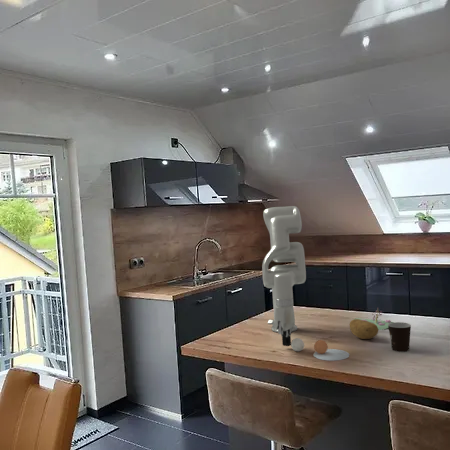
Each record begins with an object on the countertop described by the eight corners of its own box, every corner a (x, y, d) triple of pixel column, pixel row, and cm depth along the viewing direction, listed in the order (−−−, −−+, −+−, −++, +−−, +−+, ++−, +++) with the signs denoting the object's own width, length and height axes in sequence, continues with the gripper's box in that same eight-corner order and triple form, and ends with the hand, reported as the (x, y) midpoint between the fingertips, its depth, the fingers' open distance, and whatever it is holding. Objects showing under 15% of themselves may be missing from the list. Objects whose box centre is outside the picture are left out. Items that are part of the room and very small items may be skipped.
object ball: (312, 340, 192) (324, 343, 189) (318, 337, 197) (330, 340, 193) (311, 353, 193) (323, 357, 190) (317, 349, 197) (329, 353, 194)
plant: (337, 324, 239) (336, 306, 239) (364, 317, 251) (363, 300, 250) (378, 333, 219) (377, 314, 218) (406, 325, 230) (405, 306, 230)
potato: (369, 344, 202) (368, 325, 201) (344, 337, 214) (343, 319, 213) (385, 339, 207) (384, 321, 206) (360, 333, 219) (359, 316, 218)
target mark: (307, 357, 189) (307, 357, 189) (322, 347, 200) (322, 347, 200) (341, 362, 181) (341, 362, 181) (354, 352, 192) (354, 351, 192)
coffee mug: (409, 353, 186) (408, 328, 186) (387, 351, 190) (385, 326, 190) (415, 345, 196) (414, 321, 195) (393, 343, 200) (392, 319, 200)
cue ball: (297, 341, 194) (301, 353, 194) (304, 335, 198) (308, 348, 198) (286, 341, 198) (290, 353, 198) (294, 336, 202) (297, 348, 202)
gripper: (284, 298, 210) (287, 339, 211) (267, 305, 198) (270, 349, 198) (300, 299, 205) (302, 341, 206) (283, 306, 193) (286, 351, 194)
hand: (286, 345), depth 202 cm, fingers closed
